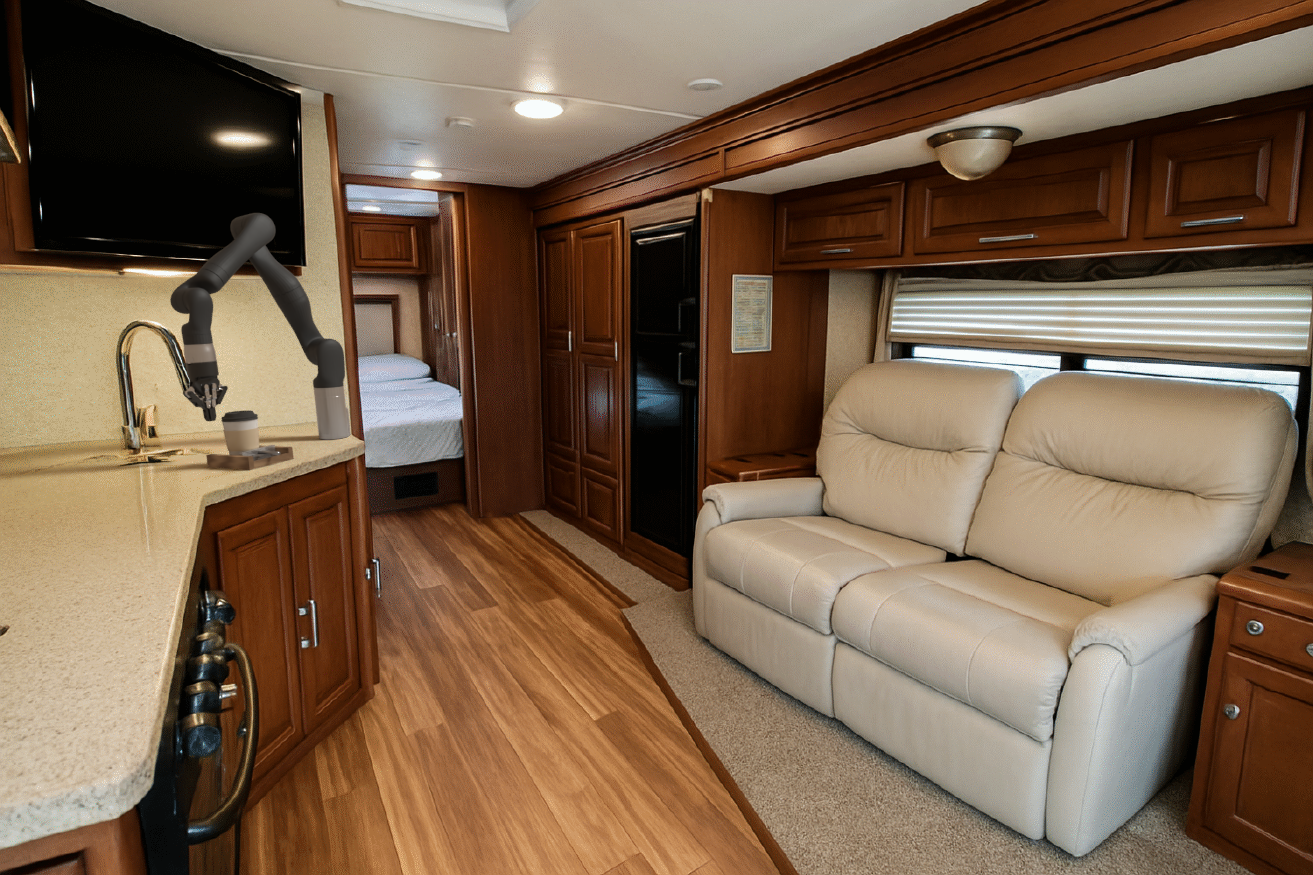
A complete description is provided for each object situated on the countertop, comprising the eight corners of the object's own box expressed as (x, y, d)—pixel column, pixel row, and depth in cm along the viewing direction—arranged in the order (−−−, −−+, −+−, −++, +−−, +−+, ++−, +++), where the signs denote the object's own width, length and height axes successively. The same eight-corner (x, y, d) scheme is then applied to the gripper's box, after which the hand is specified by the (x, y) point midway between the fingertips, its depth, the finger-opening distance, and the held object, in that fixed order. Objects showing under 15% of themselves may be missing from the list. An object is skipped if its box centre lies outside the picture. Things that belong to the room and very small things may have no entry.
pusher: (240, 466, 195) (238, 452, 194) (273, 458, 205) (271, 444, 205) (263, 467, 193) (262, 453, 192) (295, 459, 203) (294, 445, 202)
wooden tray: (207, 467, 196) (206, 455, 196) (253, 456, 210) (252, 445, 210) (249, 470, 192) (248, 457, 191) (293, 458, 206) (292, 446, 205)
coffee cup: (221, 464, 200) (213, 411, 197) (253, 458, 207) (247, 407, 205) (236, 467, 195) (229, 413, 192) (269, 461, 202) (263, 409, 200)
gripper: (211, 358, 207) (220, 416, 211) (169, 362, 195) (179, 424, 198) (231, 358, 205) (240, 417, 208) (189, 362, 193) (200, 425, 196)
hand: (210, 420), depth 203 cm, fingers closed
